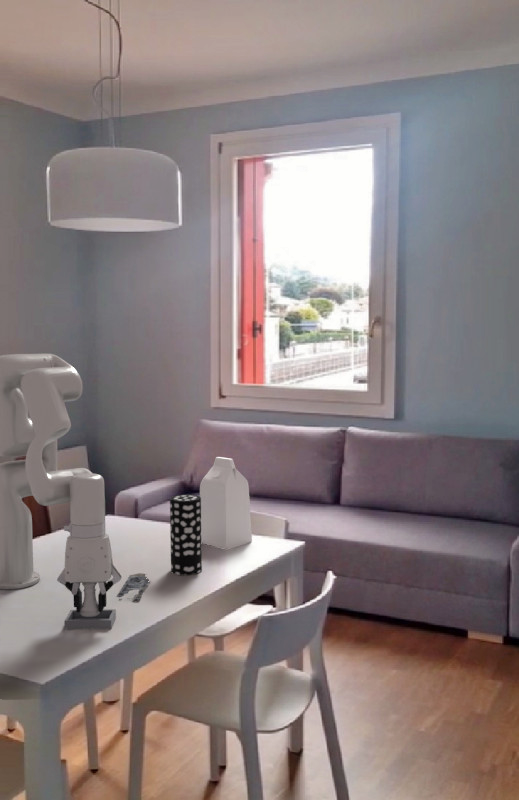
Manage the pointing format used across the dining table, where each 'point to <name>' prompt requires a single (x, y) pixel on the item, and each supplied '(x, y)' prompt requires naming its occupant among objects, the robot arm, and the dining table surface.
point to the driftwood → (134, 585)
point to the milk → (225, 506)
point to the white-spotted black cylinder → (185, 534)
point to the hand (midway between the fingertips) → (90, 609)
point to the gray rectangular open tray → (90, 620)
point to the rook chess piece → (89, 601)
